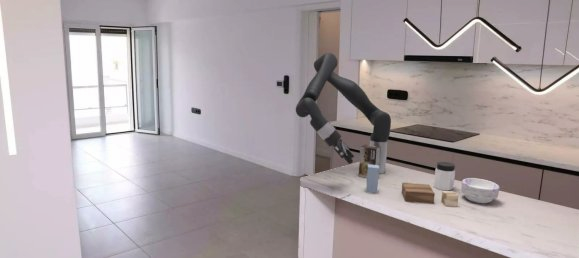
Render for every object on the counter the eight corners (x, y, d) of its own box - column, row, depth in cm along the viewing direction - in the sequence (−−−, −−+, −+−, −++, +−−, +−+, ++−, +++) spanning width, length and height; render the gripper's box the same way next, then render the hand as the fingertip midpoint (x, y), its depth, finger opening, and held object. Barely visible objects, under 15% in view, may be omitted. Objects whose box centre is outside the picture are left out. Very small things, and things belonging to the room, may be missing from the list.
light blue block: (366, 188, 190) (368, 164, 187) (377, 189, 189) (379, 165, 186) (366, 192, 185) (367, 167, 183) (377, 193, 184) (379, 168, 182)
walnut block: (401, 193, 186) (402, 182, 185) (428, 195, 185) (429, 184, 184) (405, 202, 175) (406, 191, 174) (433, 204, 173) (434, 193, 172)
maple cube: (441, 202, 175) (442, 191, 175) (452, 202, 176) (453, 191, 175) (445, 206, 171) (447, 195, 170) (457, 206, 171) (458, 195, 170)
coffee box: (379, 176, 209) (381, 146, 207) (374, 179, 204) (377, 148, 201) (362, 173, 214) (364, 144, 211) (357, 176, 209) (360, 146, 206)
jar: (447, 192, 189) (450, 167, 187) (431, 187, 195) (433, 163, 193) (455, 188, 195) (458, 164, 193) (439, 183, 201) (442, 160, 199)
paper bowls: (501, 207, 171) (504, 190, 170) (464, 204, 174) (466, 186, 173) (491, 195, 186) (493, 179, 184) (457, 192, 189) (458, 176, 187)
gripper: (324, 135, 194) (347, 161, 194) (320, 142, 180) (344, 169, 181) (336, 126, 192) (359, 151, 192) (333, 132, 178) (357, 159, 178)
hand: (352, 160), depth 186 cm, fingers open, 8 cm apart
